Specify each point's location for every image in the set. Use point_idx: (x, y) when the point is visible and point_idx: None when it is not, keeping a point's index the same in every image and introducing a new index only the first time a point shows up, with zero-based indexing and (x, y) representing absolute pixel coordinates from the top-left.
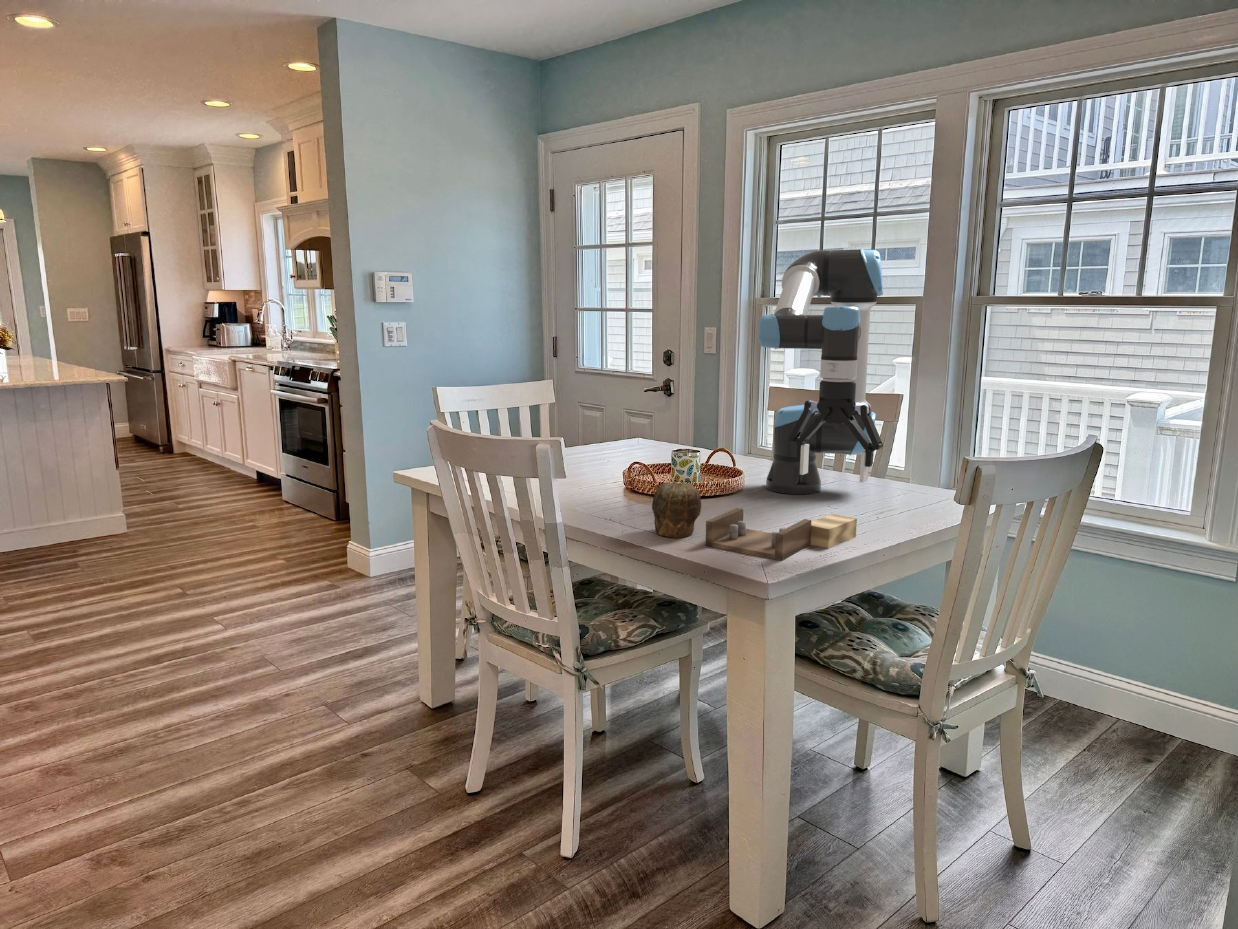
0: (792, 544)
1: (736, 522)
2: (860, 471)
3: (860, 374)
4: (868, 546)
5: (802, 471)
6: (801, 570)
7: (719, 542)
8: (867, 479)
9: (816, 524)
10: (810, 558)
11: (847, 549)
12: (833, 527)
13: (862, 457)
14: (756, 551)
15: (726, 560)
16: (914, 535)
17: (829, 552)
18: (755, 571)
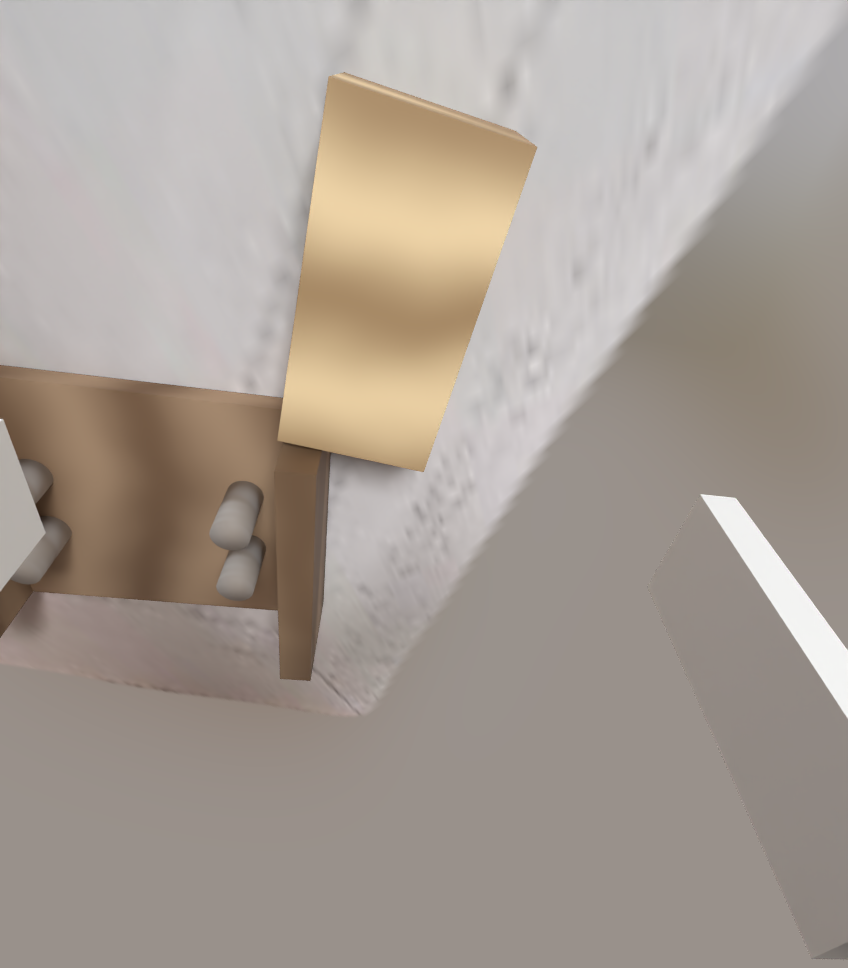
0: (320, 576)
1: None
2: (690, 679)
3: None
4: (597, 303)
5: (18, 559)
6: (408, 639)
7: (53, 583)
8: (739, 509)
9: (334, 418)
10: (396, 549)
11: (504, 395)
12: (434, 433)
13: (787, 860)
14: (222, 604)
15: (180, 650)
16: None
17: (440, 464)
18: (300, 681)
